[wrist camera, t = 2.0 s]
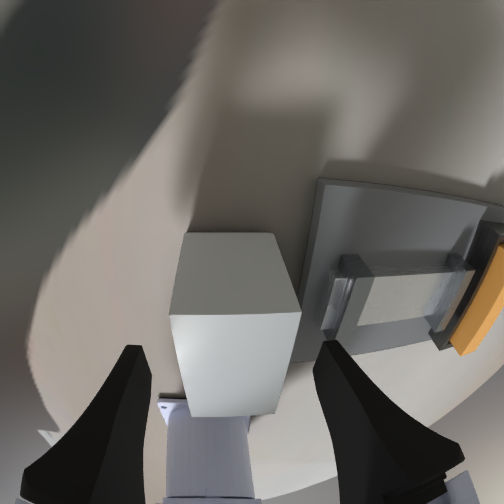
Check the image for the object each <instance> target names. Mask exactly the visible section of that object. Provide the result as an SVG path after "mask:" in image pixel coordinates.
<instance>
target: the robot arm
mask: <svg viewBox="0 0 504 504" xmlns="http://www.w3.org/2000/svg"><path fill="white" fill-rule="evenodd" d="M313 375H314V381H315V386H316V391H317V394H318V398H319V401H320V404H321V407H322V410H323V413H324V416H325V419H326V422H327V425H328V429H329V432H330V435H331V439H332V443H333V449H334V454H335V460H336V466H337V473H338V481H339V492H340V504H480V502H479V499H478V497H477V494H476V491H475V488H474V485H473V483H472V480H471V477H470V475H469V472H468V470H466V471H464V472H462V473H460V474H459V475H457V476H455V477H454V478H452V479H450V480H448V481H447V482H444V479H446V477H447V476H446V474H445V472H446V471H448V470H450V469H451V468H453V467H455V466H456V465H458V464H459V463H461V462H463V461H464V460H465V457H464V455H463V452H462V450H461V448H460V446H459V444H458V443H456V442H454V441H452V440H450V439H447V438H445V437H443V436H441V435H439V434H437V433H436V432H434V431H432V430H430V429H429V428H427V427H426V426H424V425H423V424H421V423H420V422H418V421H417V420H415V419H414V418H412V417H411V416H410V415H408V414H407V413H406V412H404V411H403V410H402V409H401V408H400V407H398V406H397V405H396V404H395V403H394V402H393V401H391V400H390V399H389V398H388V397H387V396H386V395H385V394H384V393H383V392H382V391H381V390H380V389H379V388H378V387H377V386H376V385H375V384H374V383H373V382H372V380H371V379H370V378H369V377H368V376H367V375H366V374H365V373H364V372H363V370H362V369H361V368H360V367H359V366H358V365H357V363H356V362H355V361H354V360H353V359H352V357H351V356H350V355H349V354H348V352H347V351H346V350H345V349H344V348H343V346H342V345H341V344H340V343H339V341H338V340H329V341H323V343H322V346H321V348H320V351H319V354H318V357H317V359H316V362H315V365H314V367H313ZM151 381H152V374H151V371H150V368H149V365H148V363H147V360H146V357H145V354H144V351H143V348H142V346H141V345H127V346H125V348H124V350H123V352H122V354H121V355H120V357H119V359H118V361H117V362H116V364H115V366H114V367H113V369H112V371H111V373H110V374H109V376H108V377H107V379H106V381H105V382H104V384H103V385H102V387H101V388H100V390H99V392H98V393H97V394H96V396H95V397H94V399H93V400H92V402H91V403H90V405H89V406H88V407H87V409H86V410H85V411H84V413H83V414H82V415H81V416H80V418H79V419H78V420H77V421H76V423H75V424H74V425H73V426H72V427H71V428H70V429H69V430H68V432H67V433H66V434H65V435H64V436H63V437H62V438H61V439H60V440H59V441H58V442H57V443H56V444H55V445H54V446H53V447H52V448H50V449H49V450H48V451H47V453H45V454H44V455H43V456H42V457H40V458H39V459H38V460H36V461H35V462H34V463H32V464H31V465H30V466H28V467H27V468H26V469H24V473H23V477H22V483H21V491H20V496H21V497H22V498H24V499H26V500H28V501H30V502H32V503H34V504H145V493H144V478H143V446H144V437H145V430H146V423H147V417H148V411H149V404H150V398H151ZM157 405H158V407H159V409H160V411H161V414H162V416H163V418H164V420H165V422H166V424H167V426H168V431H167V456H166V498H165V497H164V498H163V504H262V503H261V499H255V494H254V487H253V479H252V472H251V464H250V456H249V448H248V439H247V435H248V428H249V421H250V416H234V417H192V416H191V413H190V409H189V405H188V401H187V399H158V400H157ZM15 504H30V503H28V502H26V501H23V500H21V499H18V498H16V502H15ZM156 504H161V503H156Z"/></svg>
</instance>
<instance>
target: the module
mask: <svg viewBox="0 0 504 504" xmlns="http://www.w3.org/2000/svg"><path fill="white" fill-rule="evenodd" d="M301 313H302V311H301V308H300V305H299V303H298V300H297V297H296V294H295V291H294V288H293V286H292V283H291V280H290V277H289V274H288V272H287V269H286V266H285V263H284V261H283V258H282V255H281V252H280V250H279V247H278V244H277V242H276V239H275V236H274V233H270V232H186V233H184V238H183V243H182V247H181V252H180V257H179V262H178V267H177V272H176V278H175V283H174V288H173V294H172V300H171V305H170V311H169V318H170V323H171V329H172V334H173V339H174V344H175V349H176V354H177V359H178V363H179V368H180V372H181V377H182V381H183V385H184V389H185V393H186V397H187V401H188V405H189V409H190V413H191V416H192V417H234V416H253V415H267V414H275V411H276V408H277V404H278V401H279V398H280V394H281V391H282V387H283V384H284V380H285V376H286V373H287V369H288V365H289V362H290V358H291V354H292V350H293V346H294V342H295V338H296V334H297V330H298V326H299V322H300V318H301Z"/></svg>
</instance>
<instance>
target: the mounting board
mask: <svg viewBox="0 0 504 504" xmlns="http://www.w3.org/2000/svg"><path fill="white" fill-rule="evenodd" d="M480 220H483V221H490V222H497V223H504V207H503V206H500V205H496V204H491V203H487V202H483V201H478V200H473V199H468V198H463V197H458V196H453V195H448V194H442V193H436V192H430V191H424V190H418V189H411V188H405V187H398V186H390V185H382V184H374V183H365V182H356V181H346V180H336V179H324V178H318V181H317V188H316V195H315V201H314V207H313V214H312V220H311V226H310V232H309V238H308V243H307V249H306V255H305V260H304V266H303V271H302V276H301V281H300V286H299V291H298V296H297V300H298V303H299V305H300V308H301V311H302V313H301V318H300V322H299V326H298V330H297V334H296V338H295V342H294V346H293V350H292V354H291V358H290V362H289V363H295V362H305V361H314V360H316V359H317V357H318V354H319V351H320V348H321V346H322V343H323V341H327V340H326V337H325V335H324V332H323V330H320V327H319V325H318V322H317V319H316V315H317V311H318V307H319V304H320V300H321V296H322V292H323V289H324V285H325V281H326V277H327V273H328V269H329V267H338V264H339V260H340V256H341V254H358V255H359V256H360V257H361V259H362V260H363V261H364V263H365V264H366V265H367V266H388V265H417V264H442V263H445V261H446V258H447V256H448V253H458V254H459V255H460V256H461V257H462V258H463V259H464V260H465V258H466V256H467V253H468V251H469V248H470V246H471V243H472V241H473V238H474V235H475V232H476V230H477V227H478V224H479V221H480ZM430 329H431V327H430V325H429V324H428V322H427V321H426V319H425V318H424V317H423V316H422V317H416V318H410V319H404V320H398V321H391V322H384V323H377V324H369V325H361V326H356V329H355V331H354V333H353V336H352V338H351V340H350V343H349V345H348V347H347V349H345V350H346V351H347V352H348V354H349V355H350V356H352V355H358V354H364V353H370V352H376V351H381V350H386V349H391V348H396V347H401V346H406V345H410V344H415V343H419V342H423V341H428V340H432V339H431V337H430V336H429V334H428V332H429V330H430Z"/></svg>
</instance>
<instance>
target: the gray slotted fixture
mask: <svg viewBox="0 0 504 504" xmlns="http://www.w3.org/2000/svg"><path fill="white" fill-rule="evenodd" d="M500 243H501V244H504V223H497V222H490V221H483V220H480V221H479V224H478V227H477V230H476V232H475V235H474V238H473V241H472V243H471V246H470V248H469V251H468V253H467V256H466V258H465V260H464V259H463V258H462V257H461V256H460V255H459V254H458V253H448V256H447V258H446V261H445V263H442V264H417V265H388V266H367V265H366V264H365V263H364V261H363V260H362V259H361V257H360V256H359V255H358V254H341V256H340V260H339V264H338V267H329V269H328V273H327V277H326V281H325V285H324V289H323V292H322V296H321V300H320V304H319V307H318V311H317V315H316V319H317V322H318V325H319V327H320V330H323V332H324V335H325V337H326V340H327V341H329V340H338V341H339V343H340V344H341V345H342V346H343V348H344V349H347V347H348V345H349V343H350V340H351V338H352V336H353V333H354V331H355V329H356V326H361V325H369V324H377V323H384V322H391V321H398V320H404V319H410V318H416V317H422V316H423V317H424V318H425V319H426V321H427V322H428V324H429V325H430V327H431V329H430V330H429V332H428V334H429V336H430V337H431V339H432V340H433V342H434V343H435V345H436V346H437V348H438V349H439V351H440V350H444V349H447V348H450V347H453V345H452V343H451V342H450V339H451V337H452V336H453V334H454V333H455V331H456V329H457V328H458V326H459V324H460V323H461V321H462V319H463V318H464V316H465V314H466V313H467V311H468V309H469V307H470V305H471V304H472V302H473V300H474V298H475V296H476V294H477V292H478V290H479V288H480V286H481V284H482V282H483V280H484V278H485V276H486V274H487V272H488V270H489V268H490V265H491V263H492V261H493V259H494V256H495V254H496V251H497V249H498V247H499V244H500Z"/></svg>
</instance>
